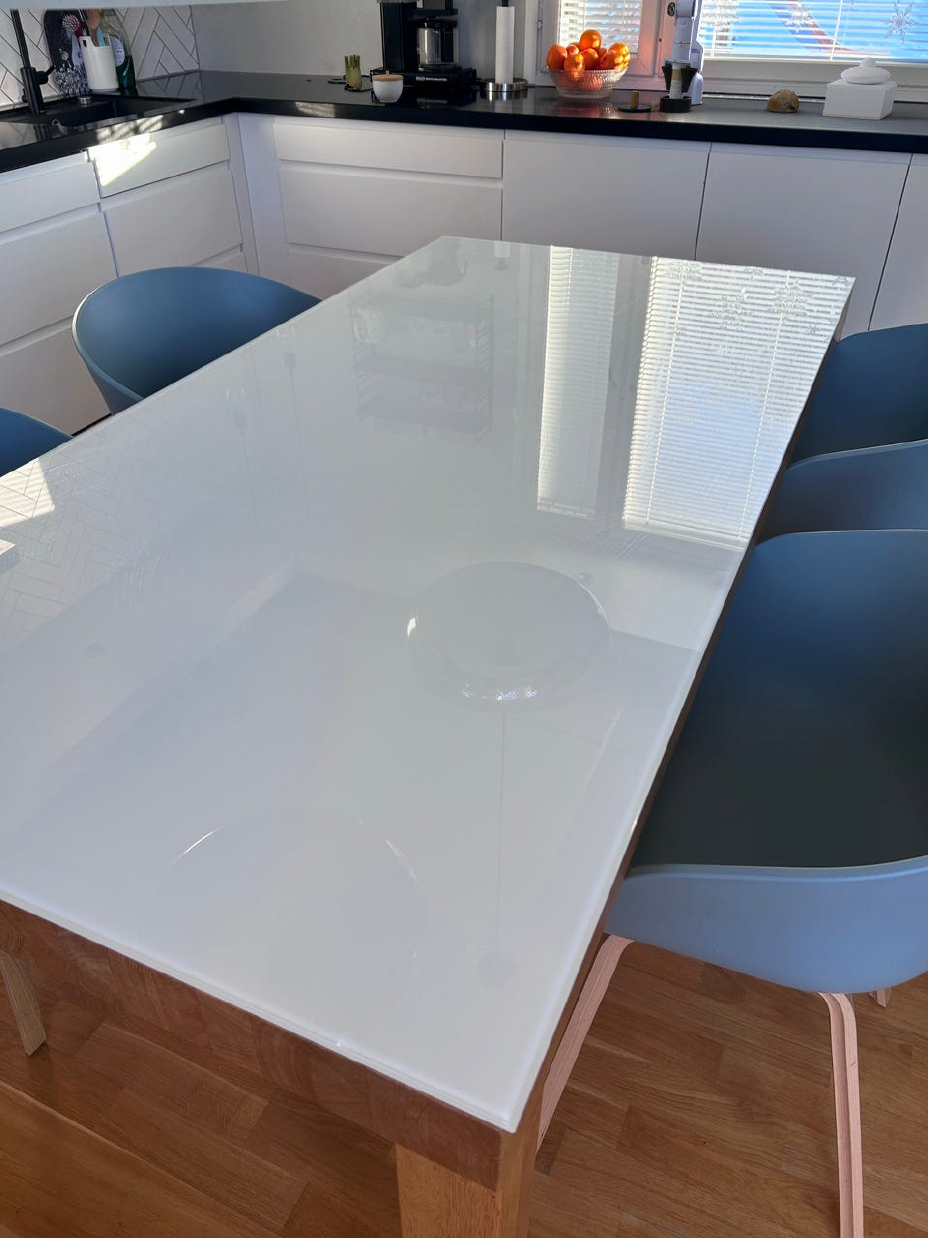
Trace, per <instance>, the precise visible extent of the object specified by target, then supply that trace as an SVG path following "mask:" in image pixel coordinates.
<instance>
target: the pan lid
mask: <svg viewBox="0 0 928 1238" xmlns="http://www.w3.org/2000/svg"><path fill="white" fill-rule="evenodd" d="M640 94H641V92H640V91H639V90H632V91H631V96H630V97H631V98H630V104H622V105H618V106H617V110H620V111H622V112H625V113H645V112H646V111H650V110H652V106H650V105H645V104H640Z"/></svg>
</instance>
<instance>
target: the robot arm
mask: <svg viewBox="0 0 928 1238" xmlns="http://www.w3.org/2000/svg"><path fill="white" fill-rule="evenodd" d="M704 2H705V0H676V1H675V5H674V14H673V15H674V23H673V24H674V25H673V27H674V31H673V41H672V51H671V56H670V57H669V56H665V57H663V59H662V66H661V71H662V73H663V76H664V82H665V90H666V91H669V92H670V87H671V80H672V70H673V69H672V66H673V62H675V63H682V64H686V65H684V67H686V68H681V69H680V70H681V75H682V87H681V91H682V93H683V96H690V97H692V104H691V106H692V105H703V102H702V99H703V91H704V79H703V78H704V77H703V76H702V75H701V72H702V71H703V66H704V61H705V59H704V58H705V48H704V46H703V44H702V43H701V42H700V41H699V34H700V28H701V21H702V15H703V9H704Z"/></svg>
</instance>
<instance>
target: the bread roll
mask: <svg viewBox="0 0 928 1238" xmlns="http://www.w3.org/2000/svg"><path fill="white" fill-rule="evenodd" d="M765 104H767V106H766V109H767V112H770V113H781V114H782V113H783V114H785V113H786V114H787V113H796V112H798V110H799V108H800V99H799V96H798V95H797V94H796V93H795V91H793V90H792V91H791V90H789V89H780V90H778V91H776V92H774V93H773V94H772V95H771V96H770V97H769V99H768V100H767V101H766V102H765Z"/></svg>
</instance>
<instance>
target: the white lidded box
mask: <svg viewBox="0 0 928 1238" xmlns="http://www.w3.org/2000/svg"><path fill="white" fill-rule="evenodd" d="M876 65H877V62H876V60H875V59H874V58H873V57H870V56H868V57H865V58H863V59H862V60H861V62H860V63H859V66H858V65H857V66H853V67H848V68H846V69H844V70H843V71H842V72H841V73H840V79H837V80H833V81H831V82H829V83H826V86H825V87H826V95H825V100H824V105H823V109H822V110H823V111H822V114H821V115H822V117H832V118H843V119H861V120H873V121H874V120H875V121H880V120H881V119H884V118H885V117H888V116H889V115H891V114H892V110H893V107H894V102H895V97H896V93H897V90H898V85H899V84H897V81H889V79H890V78H891V73H890V71H889V70H887V69H885V68H883V67H878V66H876Z"/></svg>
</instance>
